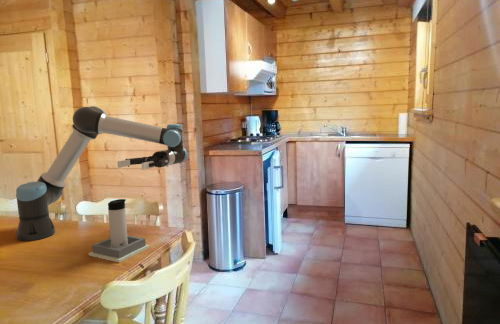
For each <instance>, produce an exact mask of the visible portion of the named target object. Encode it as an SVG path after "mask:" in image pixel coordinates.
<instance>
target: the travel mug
mask: <svg viewBox="0 0 500 324" xmlns="http://www.w3.org/2000/svg"><path fill="white" fill-rule="evenodd" d="M107 209H108V210H107V211H108V224H109V235H110V237H109V238H111V247H113V248H118V249H120V248H122V247H124V246H126V245H128V238H127V235H128V228H127V213H126V211H127V210H126V198H118V199H114V200H111V201H109V202H108V203H107Z"/></svg>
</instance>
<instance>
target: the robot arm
mask: <svg viewBox="0 0 500 324" xmlns="http://www.w3.org/2000/svg"><path fill="white" fill-rule="evenodd" d="M72 123H73V124H72V125H71V127H72V132H71V134H70V136H68V139H66V142H65V143H64V145H63V146H62V148H61V149H60V152H59V153H58V155H57V156H56V157H55V159H54V161H53V162H52V163H51V165H50V167H49V168H48V170H47V171H46V172H42V173H41V174H40V176H39V177H38V179H37V181H31V182H30V181H29V182H26V183H22V184H20V185H19V186H18V187H17V188H16V190H15V198H16V202H17V203H16V204H17V212H18V219H19V222H18V224H17V225H18V226H17V230H16V232H15V233H16V234H15V235H16V239H17V240H19V241H25V242H26V241H36V240H42V239H45V238H48V237H51V236H53V235H54V234H55V233H56V227H55V225H54V222H53V221H52V218H51V217H50V211H49V206H50V205H52V204H53V203H56V202H57V201H58V200H59V199H60V198H61V196H62V194H63V190H64V188H65V187H66V181H65V180H66V179H67V178H68V176H69V174H70V173H71V171H72V170H73V168H74V167H75V166H76V163H77V161H78V160H79V159H80V157H81V156H82V154H83V153H84V151H85V149H87V146H88V145H89V143H90V141H92V140H96V138H97V137H98V136H99V135H102V134H109V135H112V136H114V135H115V136H119V137H123V138H129V139H134V140H140V141H144V142H145V141H146V142H149V143H155V144H160V145H165V146H166V147H167V149H163V150H159V151H158V150H157V151H155V152H154V153H153V154H152V155H149V156H141V157H132V158H125V159H124V160H117V161H116V162H117V169H119V168H125V167H127V168H128V167H130V166H134V165H135V166H136V165H141V170H148V169H153V168H158V169H159V168H164V167H166V168H168V167H169V166H171V165H176V164H181V163H184V162H186V161H187V159H188V157H189V153H188V151H187V149H186V148H185V147H184V141H183V140H184V139H183V138H184V137H183V133H184V132H183V131H184V130H183V126H182V124H180V123H175V124H171V123H169V124H167V125H166V127H163V126H156V125H151V124H147V123H142V122H137V121H132V120H127V119H123V118H117V117H113V116H108V115H107V114H106V112H105V111H104V110H103V109H102V108H100V107H97V106H92V105H91V106H82V107H79V108H78V109H76V110H75V111H74V113H73V115H72Z"/></svg>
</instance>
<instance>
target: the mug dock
mask: <svg viewBox="0 0 500 324" xmlns="http://www.w3.org/2000/svg"><path fill="white" fill-rule="evenodd" d="M127 238H128V245H126V246H124V247H122V248H120V249H118V248H113V247H111V238H110V237H108V238H106V239H104V240H101V241H99V242H96V243H94V244H92V245H91V248H92V250H91V252H89V253H88V256H89V257H93V258H97V257H98V259H102V260H107V261H111V262H116V263H119V264H120V263H121V262H124V261H126V260H128V259H129V258H131V257H134V256H135V255H137V254H140V253H141V252H143V251H145V250H147V249H149V248H150V244H146V243H147V242H146V238H144V237H139V236H133V235H129V234H127Z"/></svg>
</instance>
